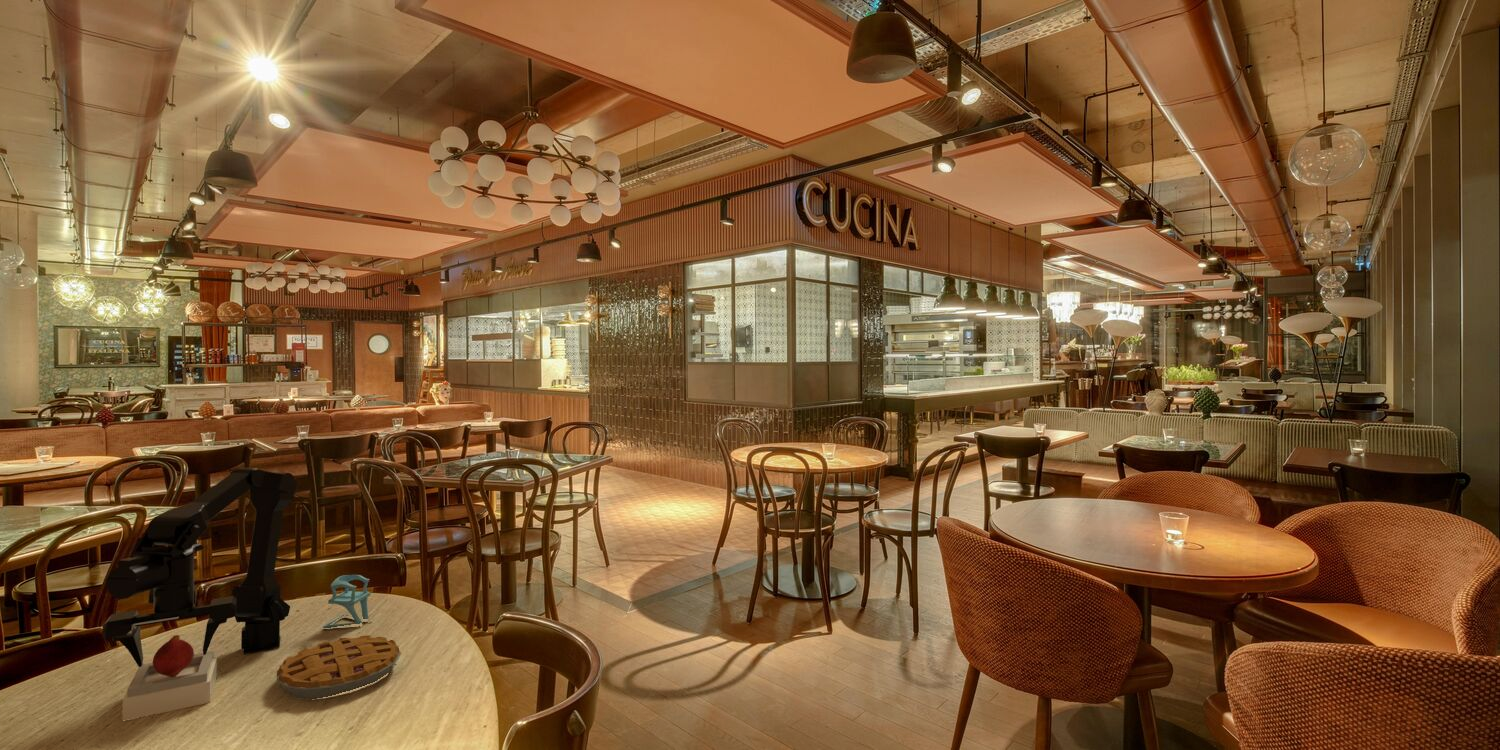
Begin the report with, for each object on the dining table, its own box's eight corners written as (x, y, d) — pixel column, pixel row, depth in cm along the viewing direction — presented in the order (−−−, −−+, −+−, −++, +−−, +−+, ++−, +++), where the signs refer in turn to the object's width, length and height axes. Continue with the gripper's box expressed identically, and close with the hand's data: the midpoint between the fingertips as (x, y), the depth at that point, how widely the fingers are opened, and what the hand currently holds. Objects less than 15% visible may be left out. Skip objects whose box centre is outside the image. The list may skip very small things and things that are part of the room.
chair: (356, 631, 153) (357, 582, 153) (322, 630, 154) (323, 581, 153) (375, 618, 161) (376, 572, 161) (342, 617, 161) (344, 570, 161)
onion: (168, 686, 119) (169, 643, 119) (143, 681, 120) (145, 640, 120) (200, 671, 124) (202, 631, 124) (176, 667, 125) (178, 627, 125)
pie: (415, 677, 133) (416, 653, 132) (289, 718, 117) (290, 691, 116) (381, 644, 147) (381, 622, 147) (264, 676, 131) (265, 652, 131)
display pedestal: (216, 676, 130) (217, 649, 130) (209, 702, 121) (210, 673, 121) (136, 692, 123) (137, 664, 123) (122, 721, 114) (122, 691, 114)
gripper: (239, 560, 134) (238, 633, 134) (116, 576, 123) (116, 655, 123) (235, 575, 125) (234, 654, 125) (101, 593, 114) (101, 679, 114)
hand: (173, 659), depth 122 cm, fingers open, 9 cm apart
